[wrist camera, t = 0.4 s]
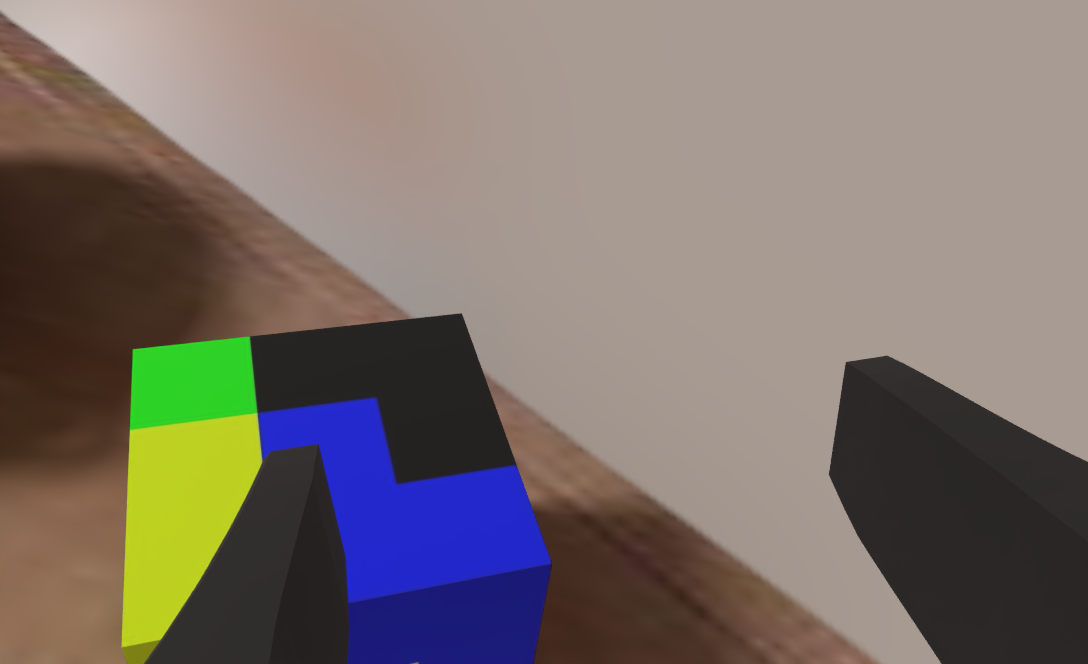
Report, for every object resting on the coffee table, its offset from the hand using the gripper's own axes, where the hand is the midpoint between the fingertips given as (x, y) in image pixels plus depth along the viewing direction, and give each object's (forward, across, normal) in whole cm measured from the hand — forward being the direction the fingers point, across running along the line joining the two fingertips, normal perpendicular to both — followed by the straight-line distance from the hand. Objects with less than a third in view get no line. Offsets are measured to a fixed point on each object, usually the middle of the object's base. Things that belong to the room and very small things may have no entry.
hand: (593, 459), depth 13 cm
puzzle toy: (+13, +6, +18) cm, 23 cm away
